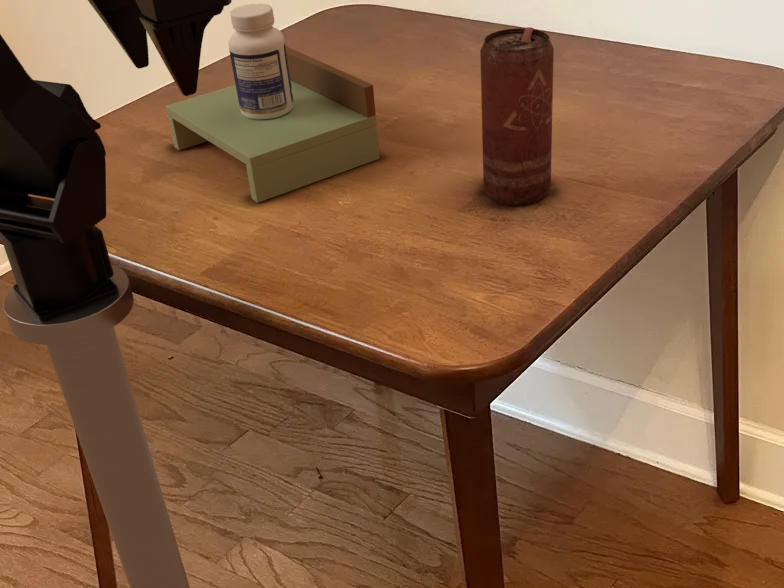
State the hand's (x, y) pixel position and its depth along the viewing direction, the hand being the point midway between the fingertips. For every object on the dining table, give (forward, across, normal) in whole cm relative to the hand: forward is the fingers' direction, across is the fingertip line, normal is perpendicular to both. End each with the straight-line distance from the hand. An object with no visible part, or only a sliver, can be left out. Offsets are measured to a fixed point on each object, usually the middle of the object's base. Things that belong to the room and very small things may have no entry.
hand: (165, 80), depth 86 cm
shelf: (+13, +8, -13) cm, 20 cm away
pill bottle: (+9, +8, -13) cm, 17 cm away
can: (+13, -16, -25) cm, 32 cm away
